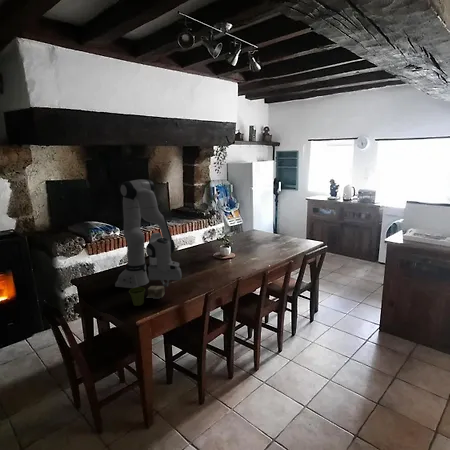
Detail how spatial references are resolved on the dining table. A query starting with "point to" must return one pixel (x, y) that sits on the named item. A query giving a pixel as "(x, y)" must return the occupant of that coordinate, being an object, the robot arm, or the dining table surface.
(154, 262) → the milk
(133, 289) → the plant pot
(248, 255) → the dining table surface
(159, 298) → the grey mat
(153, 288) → the beech block
